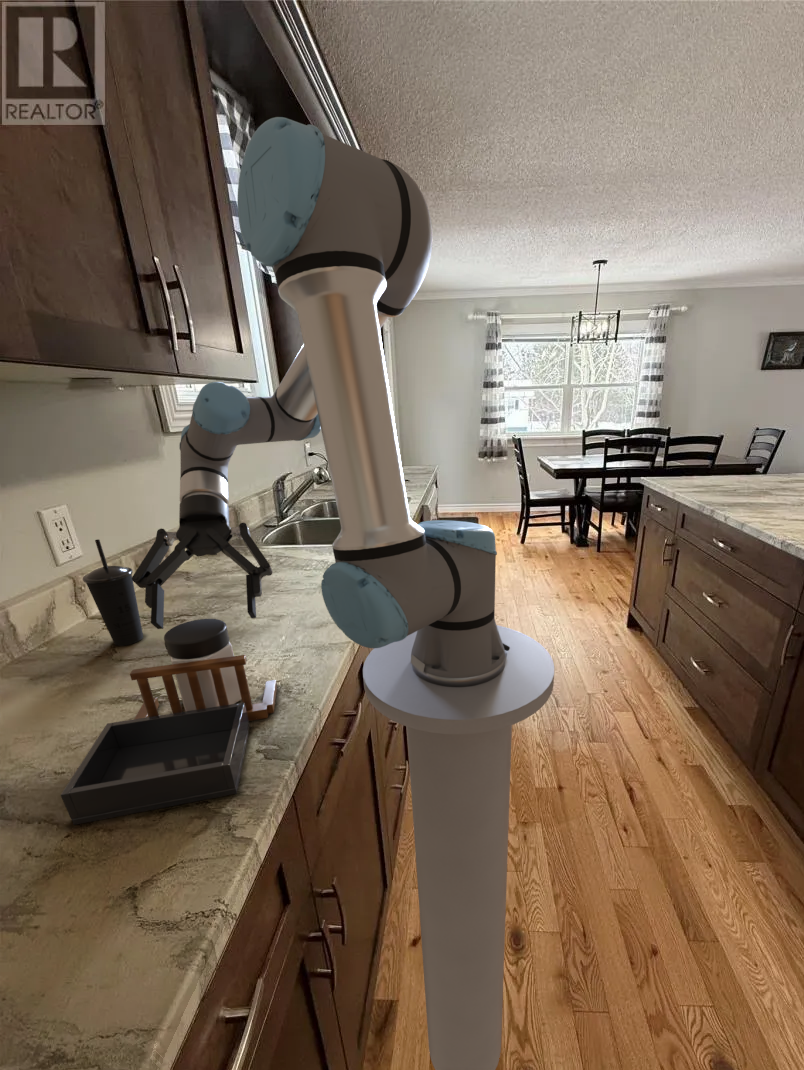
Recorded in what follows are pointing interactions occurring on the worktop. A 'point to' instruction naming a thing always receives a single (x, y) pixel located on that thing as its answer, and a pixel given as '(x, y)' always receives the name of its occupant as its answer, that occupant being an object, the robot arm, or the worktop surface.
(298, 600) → the worktop surface
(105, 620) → the drinking cup
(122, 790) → the rectangular tray
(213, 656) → the jar
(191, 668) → the drying rack
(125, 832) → the worktop surface
